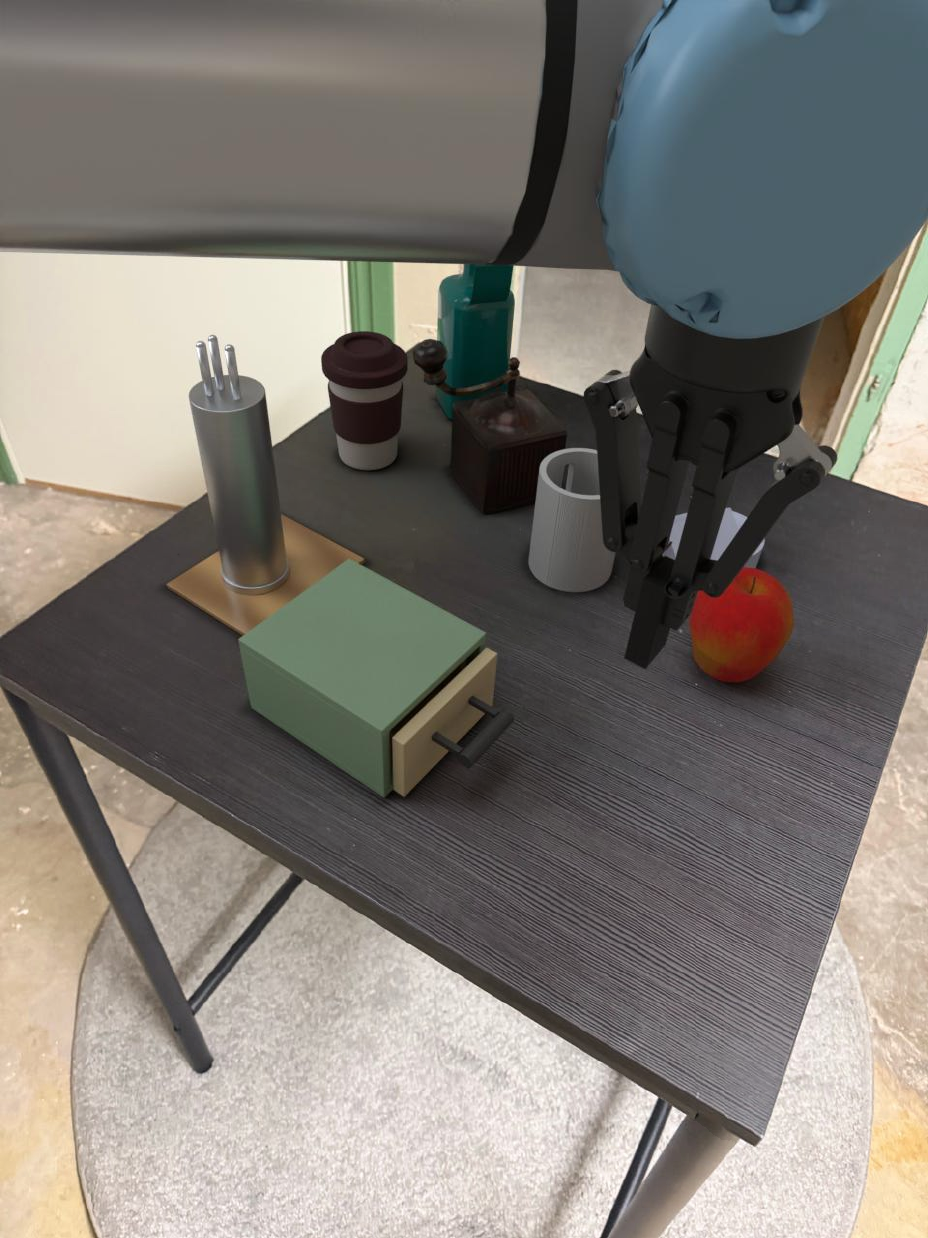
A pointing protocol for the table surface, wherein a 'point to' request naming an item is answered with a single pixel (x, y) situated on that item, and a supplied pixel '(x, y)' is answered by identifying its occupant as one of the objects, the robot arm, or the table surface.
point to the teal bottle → (475, 328)
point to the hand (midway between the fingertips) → (645, 651)
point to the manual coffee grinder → (494, 435)
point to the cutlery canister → (239, 473)
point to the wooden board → (245, 612)
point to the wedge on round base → (725, 535)
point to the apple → (741, 626)
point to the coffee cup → (365, 397)
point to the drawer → (448, 723)
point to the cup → (569, 524)
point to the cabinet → (352, 666)
